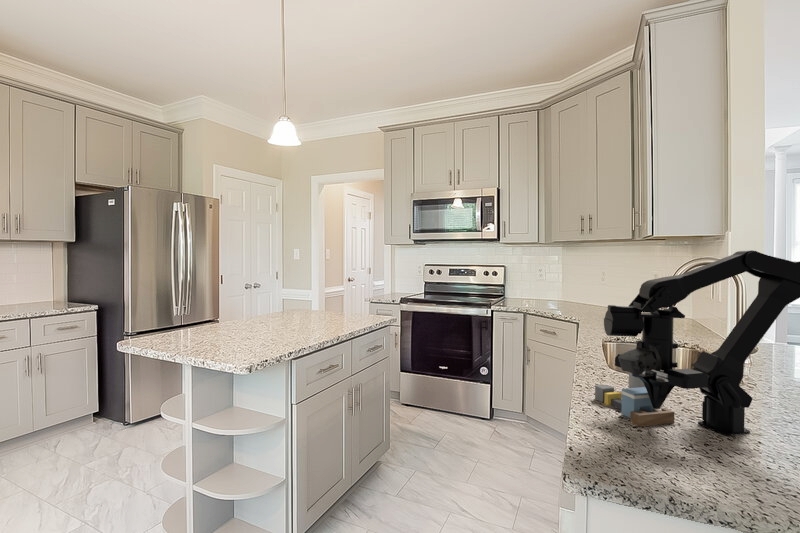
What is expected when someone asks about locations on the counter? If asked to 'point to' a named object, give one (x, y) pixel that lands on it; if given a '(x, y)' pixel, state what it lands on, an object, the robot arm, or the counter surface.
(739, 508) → the counter surface
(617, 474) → the counter surface
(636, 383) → the energy drink
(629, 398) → the sleeve
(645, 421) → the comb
